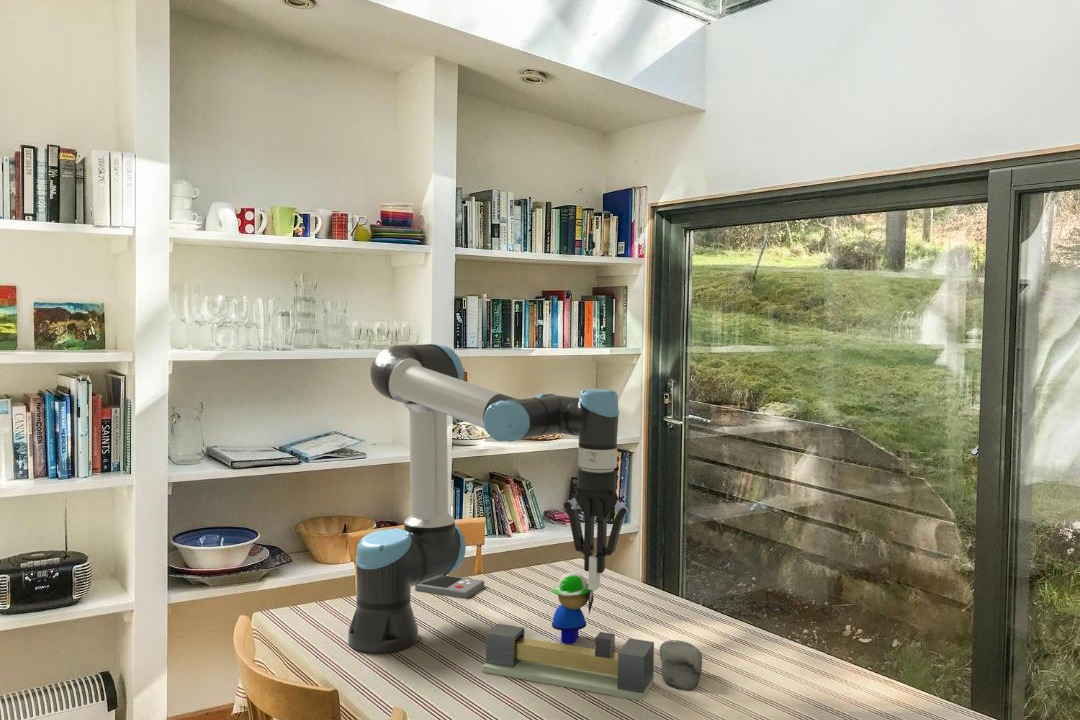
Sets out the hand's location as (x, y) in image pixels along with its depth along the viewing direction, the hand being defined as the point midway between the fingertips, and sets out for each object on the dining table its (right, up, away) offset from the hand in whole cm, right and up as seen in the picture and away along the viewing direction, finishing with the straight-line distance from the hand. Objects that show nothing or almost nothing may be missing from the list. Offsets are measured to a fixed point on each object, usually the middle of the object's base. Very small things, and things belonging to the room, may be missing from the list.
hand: (594, 587), depth 167 cm
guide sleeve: (-18, -17, +8) cm, 26 cm away
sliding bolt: (-4, -16, +2) cm, 17 cm away
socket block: (+8, -18, -2) cm, 19 cm away
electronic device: (-34, -16, +56) cm, 68 cm away
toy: (-3, -18, +22) cm, 29 cm away
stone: (+17, -19, +3) cm, 26 cm away
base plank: (-5, -18, +3) cm, 19 cm away
